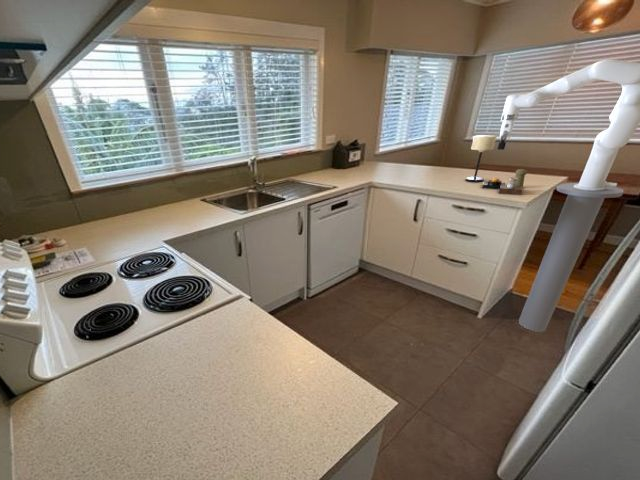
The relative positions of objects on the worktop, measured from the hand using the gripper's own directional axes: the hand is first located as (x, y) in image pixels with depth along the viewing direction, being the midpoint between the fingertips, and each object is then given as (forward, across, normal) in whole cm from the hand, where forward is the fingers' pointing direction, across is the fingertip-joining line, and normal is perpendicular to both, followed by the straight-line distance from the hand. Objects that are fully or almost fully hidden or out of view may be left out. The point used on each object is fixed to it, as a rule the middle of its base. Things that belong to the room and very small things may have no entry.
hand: (501, 148), depth 182 cm
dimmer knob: (+20, -15, -10) cm, 27 cm away
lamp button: (+19, -5, -1) cm, 20 cm away
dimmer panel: (+23, -15, -10) cm, 29 cm away
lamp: (+23, +11, +10) cm, 27 cm away
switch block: (+23, -5, -1) cm, 23 cm away
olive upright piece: (+23, -2, -13) cm, 26 cm away
